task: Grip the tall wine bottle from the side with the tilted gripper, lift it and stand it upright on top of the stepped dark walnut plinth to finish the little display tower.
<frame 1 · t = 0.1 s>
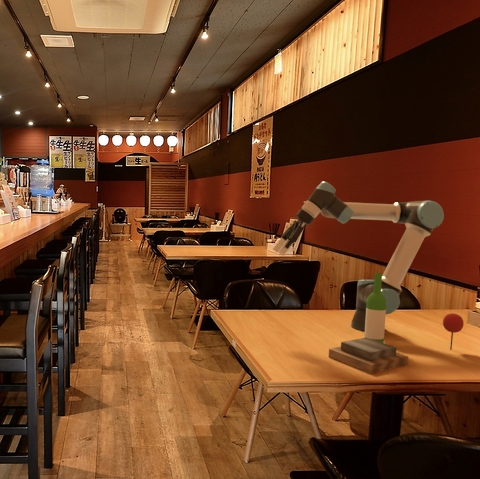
hand: (277, 252, 200), 36 cm above the table, tool tilted 35°, fingers open, 13 cm apart
lollipop: (451, 350, 190), on the table
wine bottle: (373, 345, 192), on the table
plinth: (367, 360, 172), on the table
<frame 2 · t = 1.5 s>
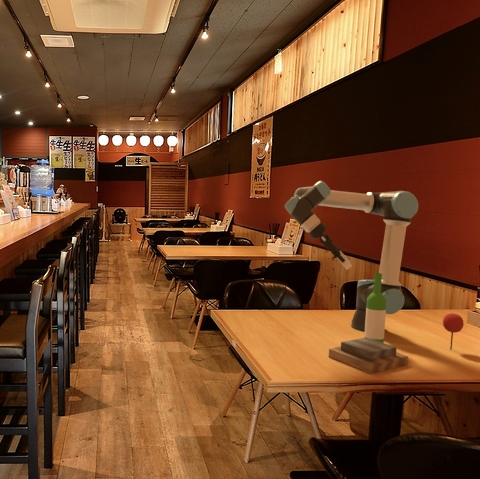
hand: (348, 265, 191), 32 cm above the table, tool tilted 45°, fingers open, 13 cm apart
nothing on the table moved.
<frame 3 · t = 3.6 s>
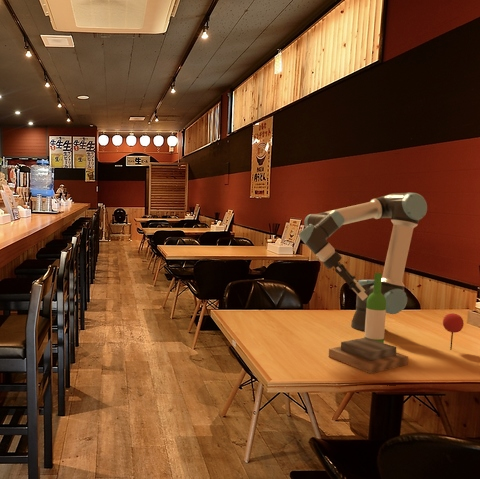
hand: (364, 295, 190), 21 cm above the table, tool tilted 45°, fingers open, 13 cm apart
nothing on the table moved.
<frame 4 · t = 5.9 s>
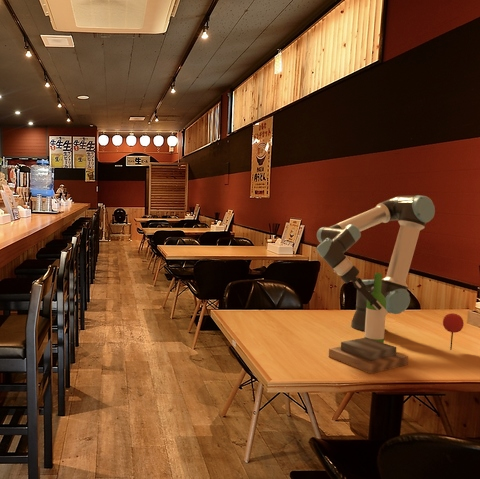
hand: (384, 312, 190), 14 cm above the table, tool tilted 45°, fingers closed on wine bottle, 8 cm apart
wine bottle: (373, 345, 192), on the table, touching gripper
everything else where it was.
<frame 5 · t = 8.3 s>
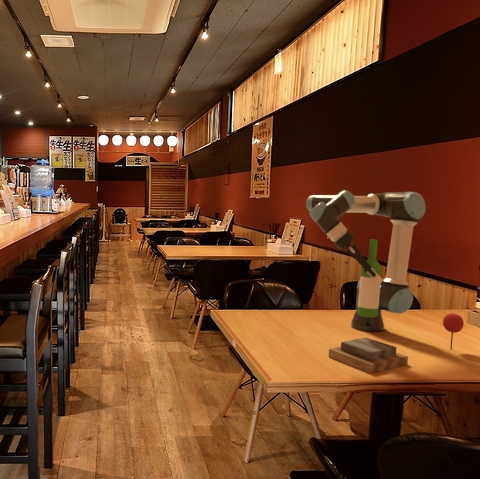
hand: (379, 281, 180), 28 cm above the table, tool tilted 45°, fingers closed on wine bottle, 8 cm apart
wine bottle: (367, 316, 182), point 14 cm above the table, touching gripper
everything else where it was.
when the fingers open (22 cm above the table, at t = 10.5 s): wine bottle drops 1 cm, resting on plinth.
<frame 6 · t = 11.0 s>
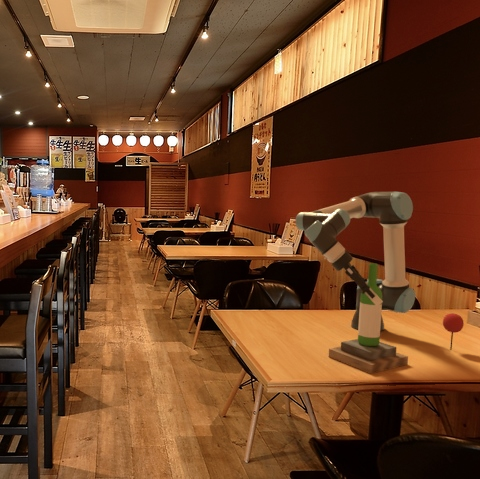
hand: (378, 300, 170), 23 cm above the table, tool tilted 45°, fingers open, 13 cm apart
wine bottle: (368, 344, 171), point 6 cm above the table, touching plinth
everything else where it was.
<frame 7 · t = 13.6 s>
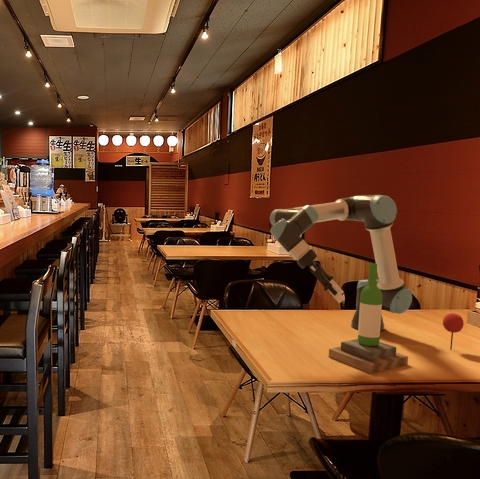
hand: (341, 297, 172), 23 cm above the table, tool tilted 45°, fingers open, 13 cm apart
nothing on the table moved.
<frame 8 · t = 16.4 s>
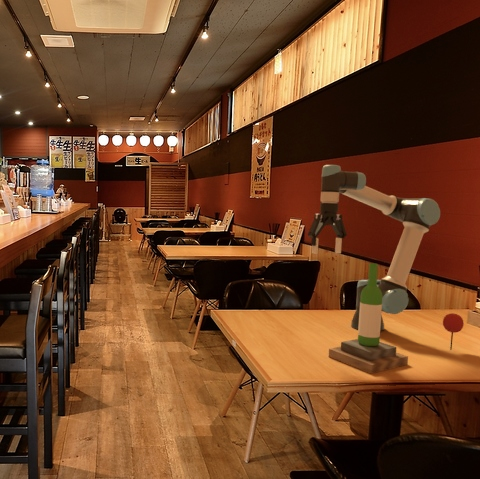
hand: (326, 253, 194), 37 cm above the table, tool pointing down, fingers open, 13 cm apart
nothing on the table moved.
at the end: wine bottle inside the target area on the plinth (0.4 cm from its centre), point 5.8 cm above the plinth's base; wine bottle tilted 0°; the gripper is holding nothing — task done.
